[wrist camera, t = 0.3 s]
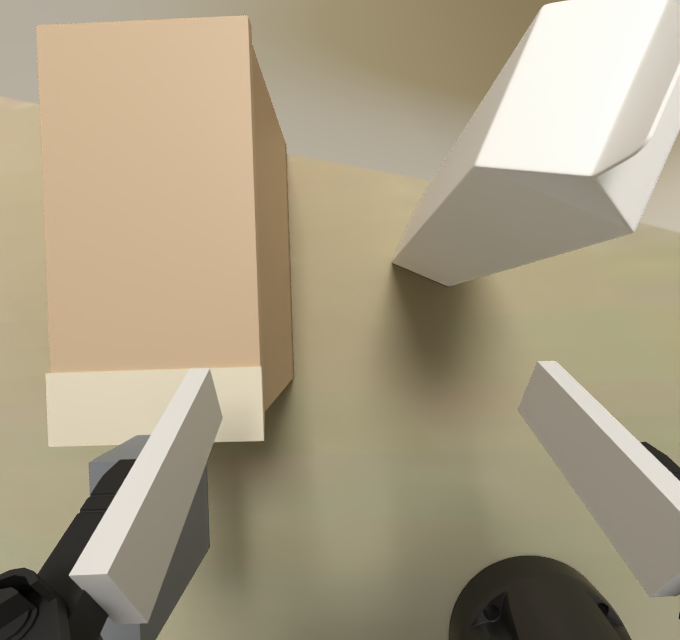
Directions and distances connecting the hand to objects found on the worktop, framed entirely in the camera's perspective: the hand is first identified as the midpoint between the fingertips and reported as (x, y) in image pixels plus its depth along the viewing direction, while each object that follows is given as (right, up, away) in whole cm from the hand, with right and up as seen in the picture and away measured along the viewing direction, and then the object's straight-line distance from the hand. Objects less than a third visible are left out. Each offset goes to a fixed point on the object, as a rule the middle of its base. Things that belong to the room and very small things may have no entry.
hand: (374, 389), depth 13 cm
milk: (+7, +10, +17) cm, 21 cm away
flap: (-12, +3, +8) cm, 14 cm away
